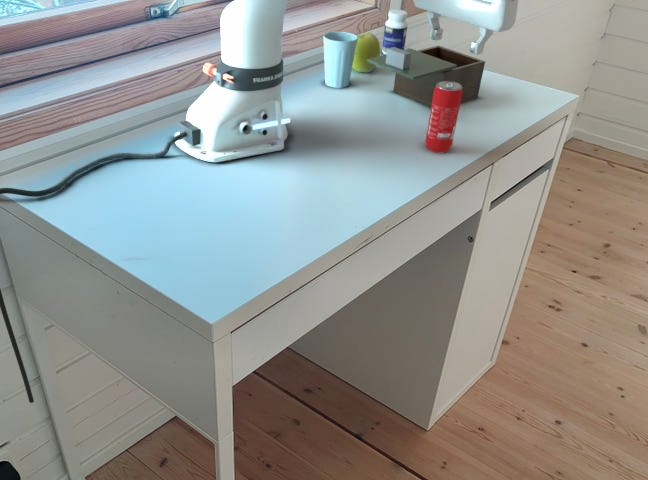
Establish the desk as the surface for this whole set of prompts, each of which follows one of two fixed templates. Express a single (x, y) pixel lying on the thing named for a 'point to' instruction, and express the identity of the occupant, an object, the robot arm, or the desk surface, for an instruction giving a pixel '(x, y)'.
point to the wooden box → (443, 77)
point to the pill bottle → (395, 30)
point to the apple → (365, 52)
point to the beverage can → (443, 116)
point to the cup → (339, 57)
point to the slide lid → (411, 63)
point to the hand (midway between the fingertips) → (455, 46)
